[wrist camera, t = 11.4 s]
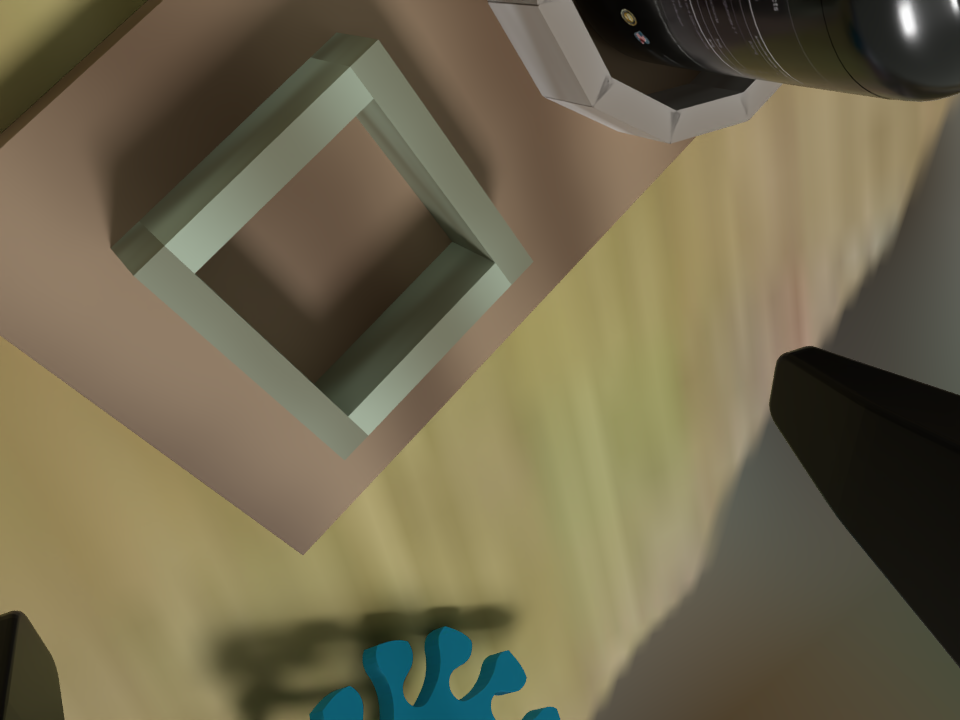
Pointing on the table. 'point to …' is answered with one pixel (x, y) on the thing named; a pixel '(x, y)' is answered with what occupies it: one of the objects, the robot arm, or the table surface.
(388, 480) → the table surface
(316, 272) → the socket board
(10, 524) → the table surface
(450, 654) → the gear
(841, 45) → the supplement bottle
